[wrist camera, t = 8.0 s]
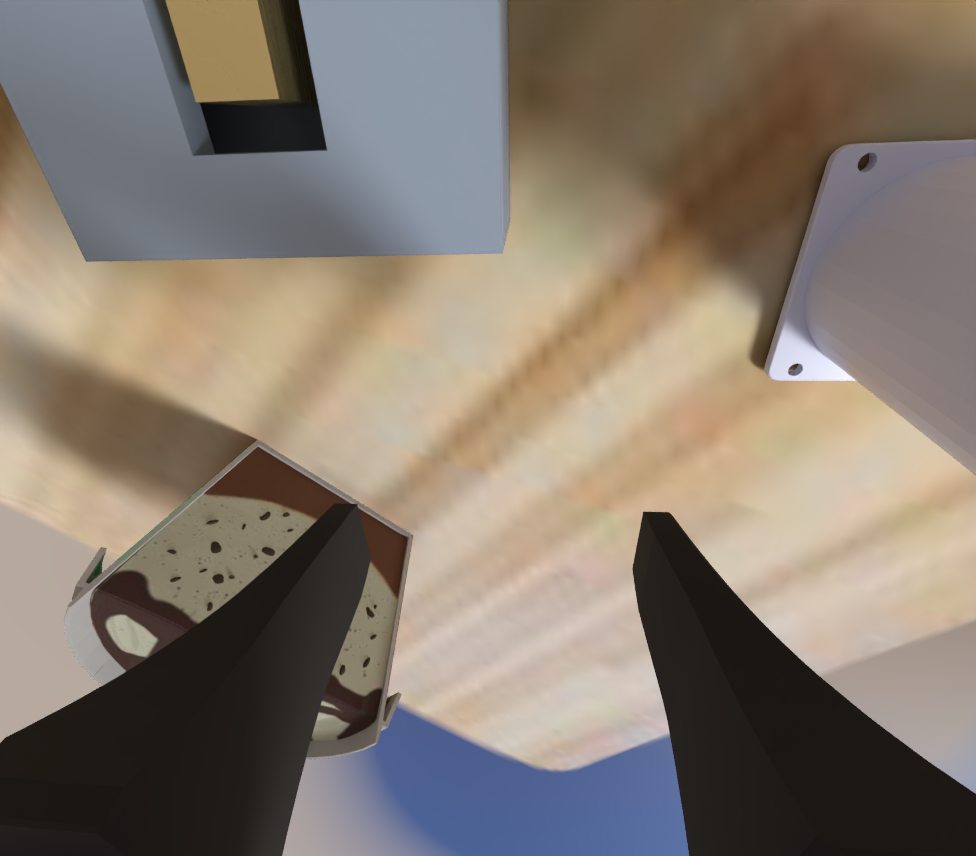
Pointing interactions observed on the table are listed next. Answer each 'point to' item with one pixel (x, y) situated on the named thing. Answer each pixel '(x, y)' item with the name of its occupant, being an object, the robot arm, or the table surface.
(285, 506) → the food container
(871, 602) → the table surface
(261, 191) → the coin box
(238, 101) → the block
